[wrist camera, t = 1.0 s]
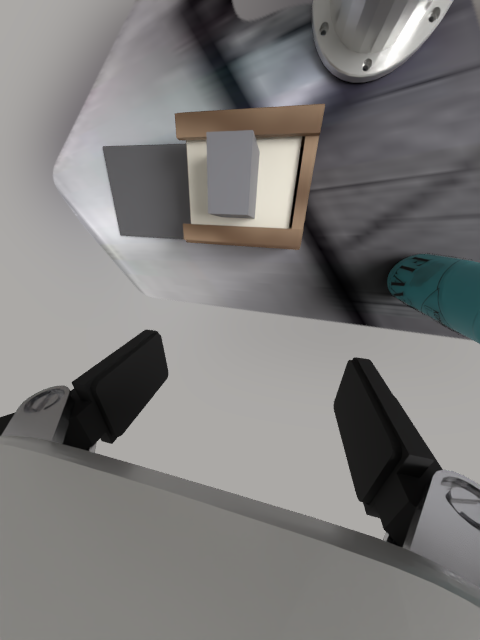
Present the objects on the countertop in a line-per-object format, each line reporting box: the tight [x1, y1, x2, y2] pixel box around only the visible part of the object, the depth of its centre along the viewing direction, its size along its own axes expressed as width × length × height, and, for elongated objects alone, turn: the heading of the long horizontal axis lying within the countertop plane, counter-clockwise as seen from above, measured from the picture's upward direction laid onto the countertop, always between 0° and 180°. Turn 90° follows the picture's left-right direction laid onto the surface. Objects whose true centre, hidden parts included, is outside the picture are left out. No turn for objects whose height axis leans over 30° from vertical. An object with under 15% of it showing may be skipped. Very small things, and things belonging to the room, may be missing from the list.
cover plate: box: [186, 130, 302, 229], centre depth 19 cm, size 9×12×6 cm
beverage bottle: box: [387, 253, 480, 344], centre depth 18 cm, size 6×7×20 cm
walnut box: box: [175, 104, 325, 250], centre depth 23 cm, size 12×14×8 cm
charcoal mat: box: [103, 144, 191, 239], centre depth 29 cm, size 12×14×1 cm
